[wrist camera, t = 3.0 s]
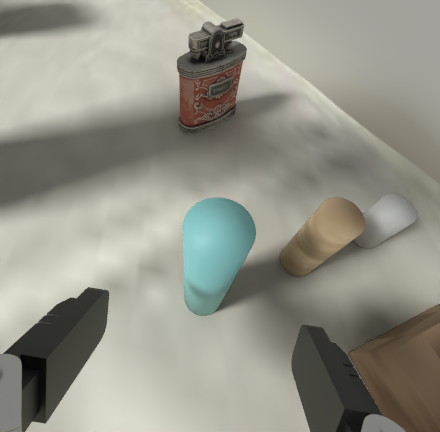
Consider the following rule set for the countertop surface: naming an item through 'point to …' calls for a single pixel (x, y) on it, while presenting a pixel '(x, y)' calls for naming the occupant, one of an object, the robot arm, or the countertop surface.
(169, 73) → the countertop surface
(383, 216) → the grey pin
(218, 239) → the teal pin
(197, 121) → the lighter
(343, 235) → the beech pin
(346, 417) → the robot arm
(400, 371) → the walnut block
